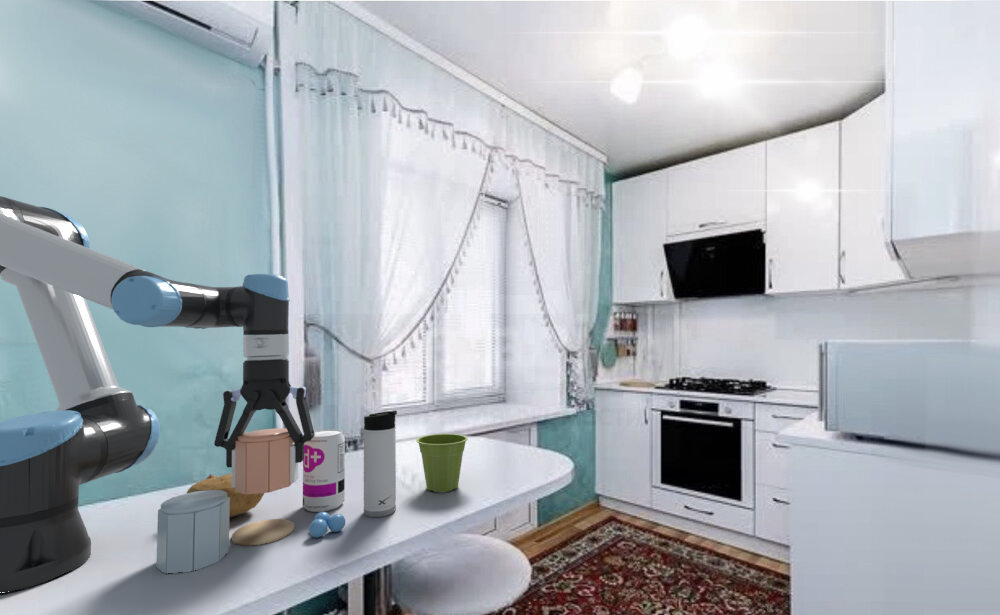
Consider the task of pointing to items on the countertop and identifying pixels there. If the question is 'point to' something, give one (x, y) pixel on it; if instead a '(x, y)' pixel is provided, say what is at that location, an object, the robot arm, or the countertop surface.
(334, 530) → the marble
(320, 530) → the marble
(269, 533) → the coaster
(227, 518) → the grey domed faceted canister
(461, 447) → the plant pot
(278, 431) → the peach domed octagonal part
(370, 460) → the travel mug
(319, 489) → the supplement can
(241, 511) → the potato
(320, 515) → the marble
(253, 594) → the countertop surface
